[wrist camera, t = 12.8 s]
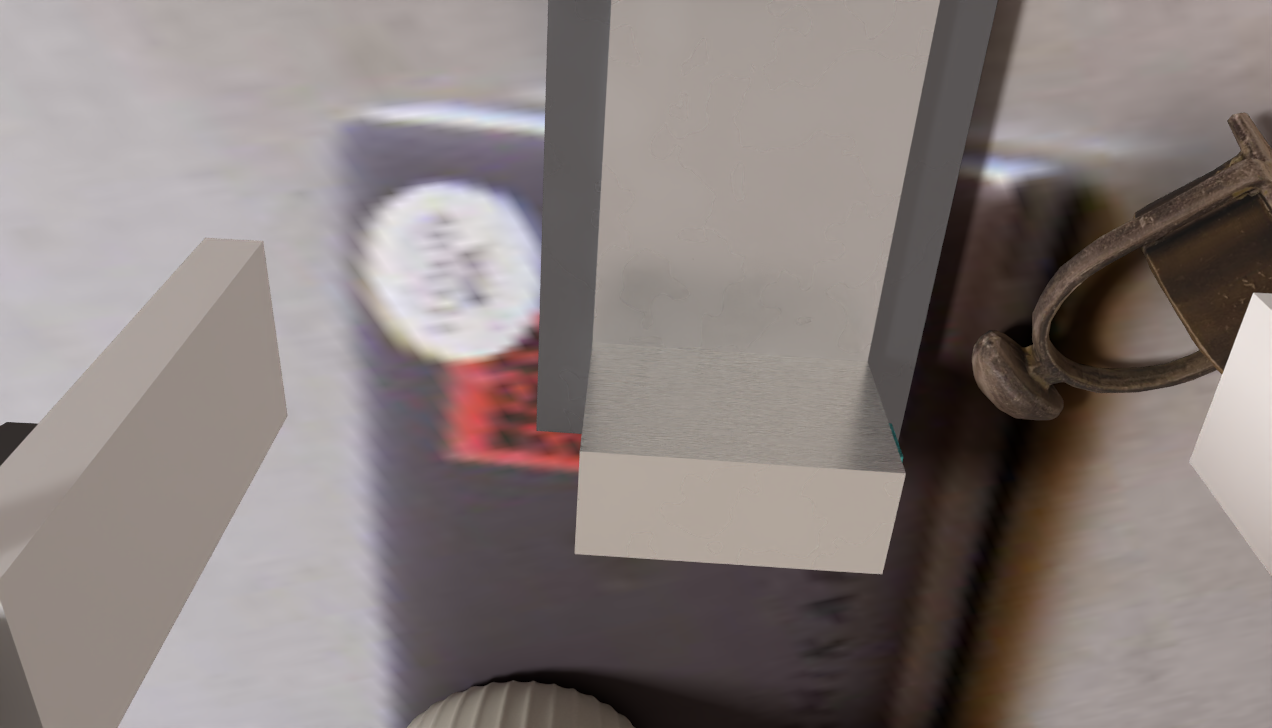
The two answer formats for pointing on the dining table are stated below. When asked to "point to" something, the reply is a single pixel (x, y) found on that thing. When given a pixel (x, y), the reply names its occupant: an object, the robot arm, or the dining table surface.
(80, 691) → the robot arm
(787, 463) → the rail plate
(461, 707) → the canister
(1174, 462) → the dining table surface
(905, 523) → the dining table surface
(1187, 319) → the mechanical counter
